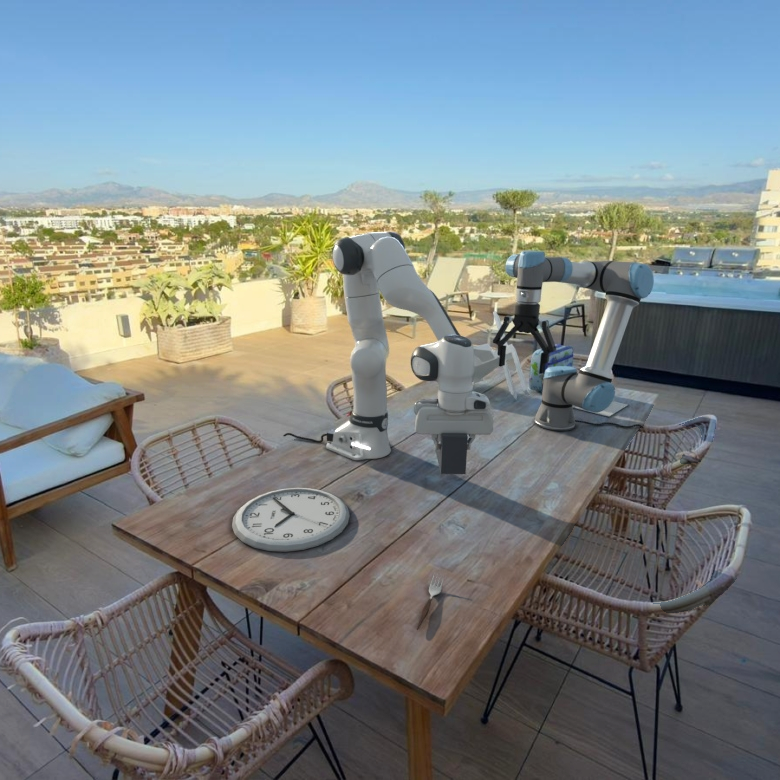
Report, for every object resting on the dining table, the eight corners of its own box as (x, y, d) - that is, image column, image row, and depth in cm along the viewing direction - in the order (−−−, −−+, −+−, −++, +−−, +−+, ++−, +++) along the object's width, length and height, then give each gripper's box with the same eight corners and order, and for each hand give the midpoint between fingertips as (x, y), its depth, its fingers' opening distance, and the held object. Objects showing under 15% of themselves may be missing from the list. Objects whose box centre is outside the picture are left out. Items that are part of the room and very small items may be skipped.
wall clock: (350, 543, 123) (219, 547, 120) (350, 549, 123) (220, 553, 121) (349, 483, 151) (243, 486, 149) (349, 488, 152) (243, 491, 149)
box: (432, 437, 160) (433, 404, 157) (453, 437, 160) (455, 404, 157) (440, 474, 136) (442, 436, 133) (465, 474, 136) (467, 436, 133)
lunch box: (545, 397, 238) (550, 352, 231) (524, 391, 245) (529, 348, 239) (572, 386, 255) (578, 344, 249) (552, 381, 262) (557, 340, 256)
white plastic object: (461, 429, 252) (437, 405, 227) (444, 352, 274) (420, 323, 250) (535, 404, 240) (518, 377, 215) (510, 326, 262) (492, 293, 237)
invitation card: (608, 416, 214) (573, 407, 224) (608, 416, 214) (573, 408, 224) (628, 404, 229) (594, 396, 238) (628, 405, 229) (594, 397, 238)
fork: (410, 630, 99) (410, 621, 98) (433, 579, 113) (433, 571, 113) (423, 633, 98) (424, 625, 97) (444, 582, 112) (445, 574, 112)
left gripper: (415, 402, 131) (413, 453, 135) (496, 403, 131) (492, 453, 135) (413, 395, 137) (412, 443, 141) (491, 395, 137) (488, 444, 141)
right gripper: (485, 300, 165) (480, 365, 171) (563, 308, 151) (555, 378, 157) (495, 297, 171) (491, 360, 177) (572, 305, 157) (563, 373, 163)
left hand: (452, 448), depth 138 cm, fingers closed on box, 6 cm apart
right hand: (521, 369), depth 167 cm, fingers open, 13 cm apart
